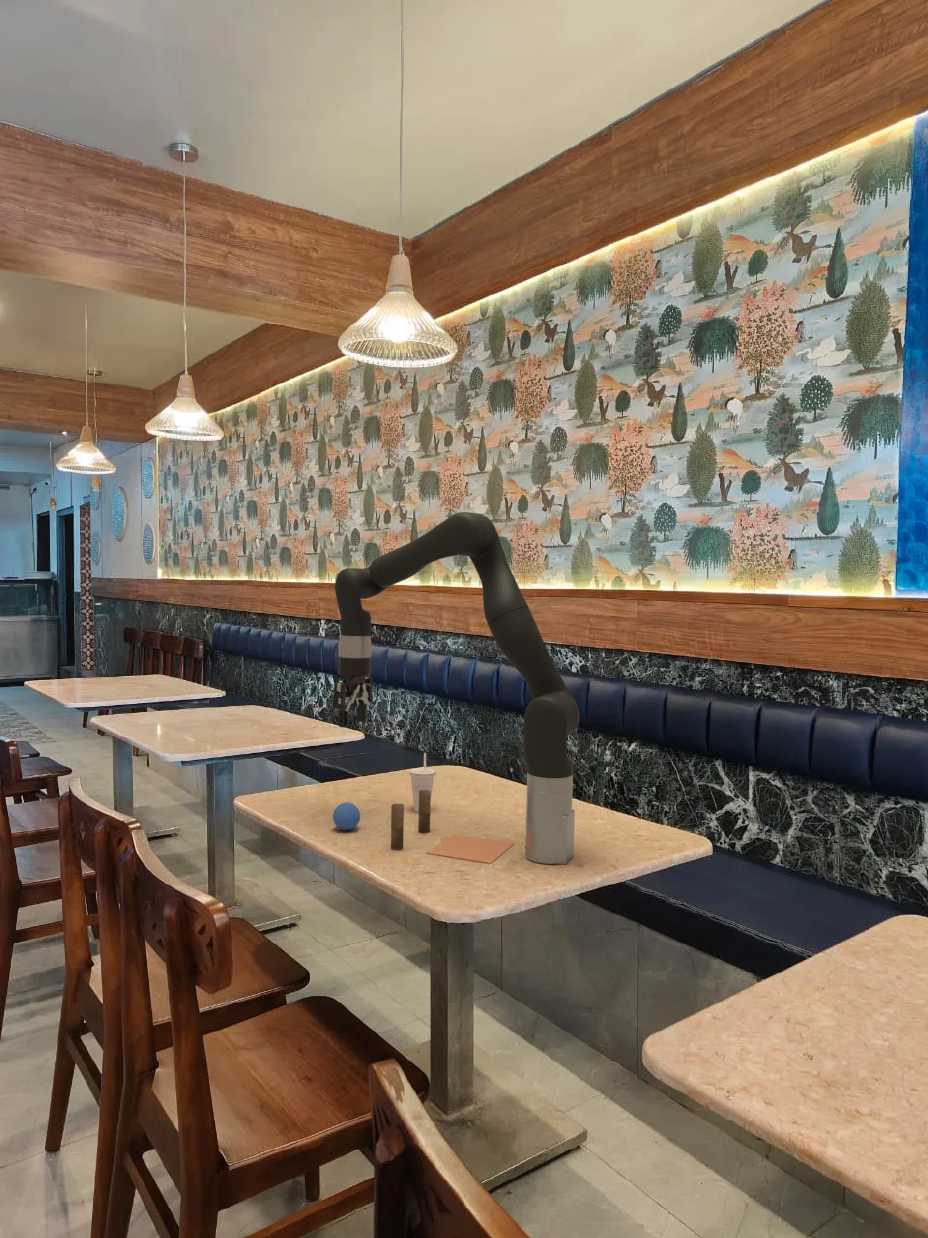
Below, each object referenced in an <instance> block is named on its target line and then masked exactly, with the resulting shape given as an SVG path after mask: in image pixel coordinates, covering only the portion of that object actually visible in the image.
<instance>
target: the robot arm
mask: <svg viewBox="0 0 928 1238" xmlns="http://www.w3.org/2000/svg"><path fill="white" fill-rule="evenodd" d="M505 554H506V553H505V552H504V549H503V545H502V542H501V539H500V536H499V533H498V531H497V529H496V526H495V524H494V523H493V521H492V520H491V519H490V518H489V517H488V516H487V515H484V514H482V513H477V512H469V511H459V512H456V513H454V514H452V515H450V516H449V517H447V518H446V519H445V520H443V521H441V522H440V523H439V524H437V525H436V526H434V527H433V528H432V529H430V530H428V531H427V532H426V533H424V534H423V535H421V536H419V537H417V538H416V539H414V540H413V541H409V543H407V544H404V545H402V546H400V547H396V549H393V550H390V551H389V552H386V553H384V554H381V555H380V556H378V557H376V558H375V559H374V560H372V561H371V563H370V565H369V566H368V567H367V566H366V567H365V568H354V567H346V568H344V569H342V570H341V571H339V573H338V574H337V576H336V579H335V583H334V591H335V597H336V598H335V599H336V603H337V607H338V611H339V616H340V629H339V630H340V632H339V633H340V634H339V641H338V658H337V659H338V660H337V661H338V662H337V673H338V675H339V676H341V677H342V681H341V682H334V686H333V700H332V702H333V704H332V707H333V709H334V710H337V711H338V723H337V724H338V727H339V728H343V729H345V728H348V727H349V724H350V723H349V720H350V719H349V715H350V708H351V705H352V704H354V702H355V701H356V704H357V707H356V721H357V722H358V723H359V722H360V723H365V722H366V721H367V717H368V715H367V714H368V713H367V709H368V706H369V704H370V703H372V702H373V696H374V695H373V694H374V693H373V691H374V689H373V685H374V684H373V683H374V682H373V677H369V676H370V675H371V674H372V671H371V670H372V668H371V667H372V637H371V636H372V615H371V612H369V611H368V610H365V609H364V608H363V605H362V600H364V599H370V598H372V597H375V596H377V595H379V594H381V593H382V592H384V591H385V590H387V589H388V588H389V587H390V586H393V585H397V584H398V583H400V582H403V581H405V580H407V579H410V578H411V577H413V576H415V575H417V574H418V573H419V572H420V571H422V570H423V569H424V568H425V567H426V566H428V565H429V564H432V563H434V562H436V561H438V560H439V561H440V560H442V559H445V558H449V557H455V556H461V557H469V559H470V561H471V563H472V564H473V567H474V568H475V571H476V572H477V575H478V576H479V579H480V584H481V586H482V604H483V612H484V618H485V620H486V623H487V626H488V628H489V630H490V632H491V634H492V636H493V639H494V641H495V643H496V646H498V648H499V650H500V652H502V654H503V655H504V656H505V658H506V659H507V660H508V661H509V663H511V664H512V666H513V667H514V668H515V669H516V670H517V671H518V672H519V673H520V675H521V676H522V678H523V679H524V680H525V683H526V684H527V687H528V688H529V691H530V693H531V696H532V698H533V699H532V700H531V701H530V702H529V703H528V705H527V706H526V709H525V711H524V718H523V755H524V756H523V757H524V759H525V762H526V767H527V769H526V770H527V771H526V803H525V804H526V805H525V806H526V809H525V812H526V813H525V814H526V815H525V845H524V849H525V851H524V852H525V853H524V855H525V858H526V859H527V860H530V862H535V863H539V864H545V865H546V864H548V865H549V864H550V865H551V864H552V865H554V864H555V865H558V864H559V865H561V864H562V865H566V864H567V863H568V862H570V860H571V859H572V858H573V857H574V852H575V851H574V849H575V847H574V846H575V818H576V817H575V816H576V815H575V814H576V812H575V809H573V785H574V783H573V782H574V761H573V760H572V759H571V758H570V757H569V756H568V749H567V748H568V747H567V746H568V743H567V742H568V741H567V740H568V739H567V737H568V736H569V735H571V734H573V733H574V732H575V731H576V730H577V728H578V726H579V724H580V718H581V717H580V708H579V706H578V703H577V701H576V700H575V698H574V697H573V694H572V693H571V691H570V690H569V688H568V687H567V684H566V683H565V681H564V680H563V678H562V676H561V675H560V673H559V670H558V669H557V667H556V666H555V665H556V664H555V663H554V662H553V661H554V660H553V659H552V657H551V656H552V655H550V652H549V650H548V647H547V645H546V643H545V641H544V639H543V636H542V635H541V633H540V629H539V627H538V625H537V623H536V620H535V618H534V616H533V613H532V611H531V609H530V607H529V605H528V603H527V601H526V599H525V597H524V595H523V593H522V591H521V589H520V587H519V584H518V583H517V580H516V577H515V576H514V574H513V572H512V570H511V568H510V566H509V563H508V560H507V557H506V555H505ZM361 599H362V600H361ZM338 700H339V701H338Z"/></svg>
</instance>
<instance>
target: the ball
mask: <svg viewBox="0 0 928 1238" xmlns="http://www.w3.org/2000/svg"><path fill="white" fill-rule="evenodd" d="M332 820H333V824H334V825H335V826H336V827H337V829H339V830H343V831H350V830H353V829H354V828H356V827H357V826H358V824H359V823H360V820H361V812H360V809H359V808H358V806H356V805H355V804H354V803H351V802H342V803H340V804H338V805H337V806H336V807H335V809H333V813H332Z"/></svg>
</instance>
